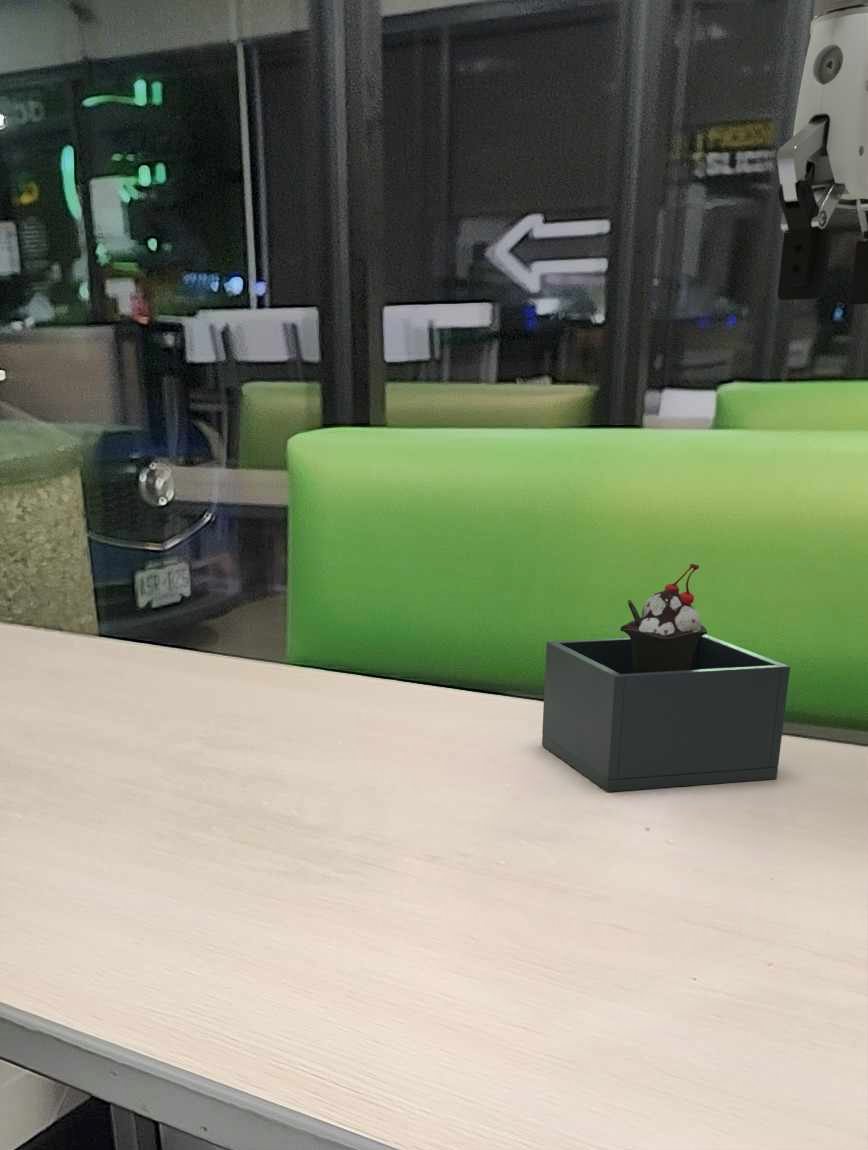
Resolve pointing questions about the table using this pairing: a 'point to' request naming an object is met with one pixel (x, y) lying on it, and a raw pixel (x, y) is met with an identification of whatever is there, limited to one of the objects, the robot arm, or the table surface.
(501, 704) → the table surface
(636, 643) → the sundae
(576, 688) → the bin
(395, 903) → the table surface
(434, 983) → the table surface
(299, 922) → the table surface
